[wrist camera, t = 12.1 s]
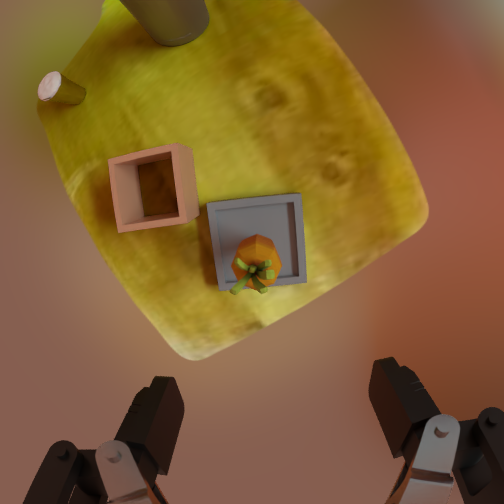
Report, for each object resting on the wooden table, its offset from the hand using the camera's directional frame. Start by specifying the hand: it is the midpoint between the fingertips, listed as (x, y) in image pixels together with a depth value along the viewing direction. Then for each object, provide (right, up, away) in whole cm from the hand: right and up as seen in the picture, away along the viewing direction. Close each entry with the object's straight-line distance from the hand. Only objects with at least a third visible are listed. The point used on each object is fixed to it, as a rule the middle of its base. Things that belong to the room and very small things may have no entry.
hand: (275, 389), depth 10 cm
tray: (0, +7, +28) cm, 29 cm away
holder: (-13, +14, +26) cm, 32 cm away
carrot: (0, +7, +27) cm, 28 cm away
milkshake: (-29, +30, +22) cm, 47 cm away
